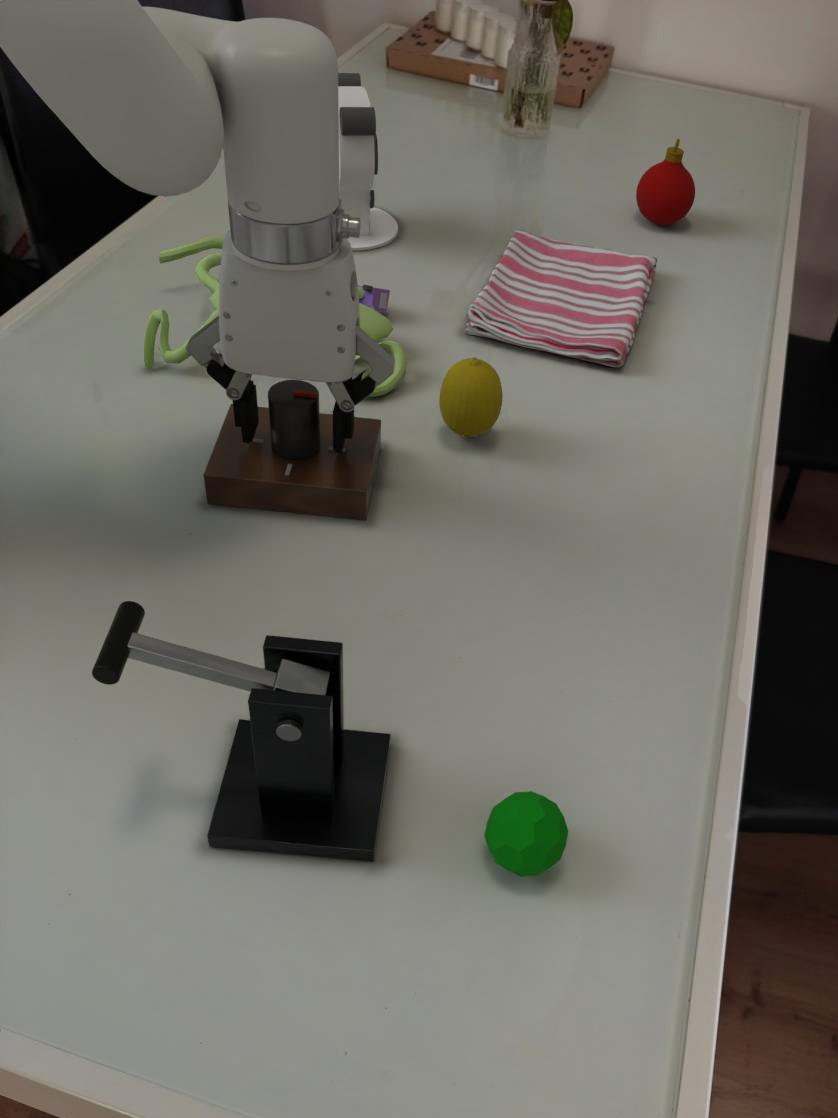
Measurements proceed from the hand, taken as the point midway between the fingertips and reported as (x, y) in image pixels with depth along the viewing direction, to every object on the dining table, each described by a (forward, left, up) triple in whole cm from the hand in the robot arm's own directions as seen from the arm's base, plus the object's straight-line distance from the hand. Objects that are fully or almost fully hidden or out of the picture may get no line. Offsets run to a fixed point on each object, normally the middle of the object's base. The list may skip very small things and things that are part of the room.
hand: (295, 436), depth 84 cm
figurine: (-6, +21, -4) cm, 22 cm away
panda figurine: (-2, +46, -4) cm, 46 cm away
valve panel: (0, 0, -4) cm, 4 cm away
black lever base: (+6, -32, -4) cm, 33 cm away
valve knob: (0, 0, -1) cm, 1 cm away
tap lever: (+1, -32, +6) cm, 33 cm away
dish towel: (+23, +34, -4) cm, 41 cm away
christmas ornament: (+35, +57, -4) cm, 67 cm away
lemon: (+14, +8, -4) cm, 17 cm away
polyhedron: (+20, -35, -4) cm, 41 cm away
